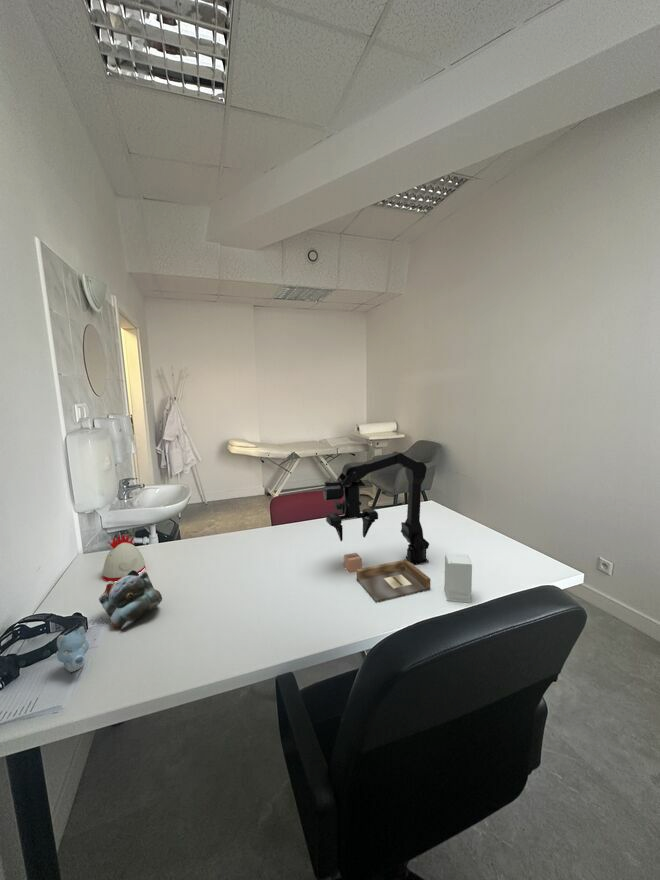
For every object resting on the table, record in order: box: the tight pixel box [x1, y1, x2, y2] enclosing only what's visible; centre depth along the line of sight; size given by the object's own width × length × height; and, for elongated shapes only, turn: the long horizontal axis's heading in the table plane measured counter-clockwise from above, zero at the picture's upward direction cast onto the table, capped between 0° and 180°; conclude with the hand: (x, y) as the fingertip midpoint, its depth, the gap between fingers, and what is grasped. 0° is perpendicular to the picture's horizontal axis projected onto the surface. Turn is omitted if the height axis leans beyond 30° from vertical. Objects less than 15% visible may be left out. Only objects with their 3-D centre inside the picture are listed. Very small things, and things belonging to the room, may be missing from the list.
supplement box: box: [443, 552, 473, 604], centre depth 114 cm, size 7×7×13 cm
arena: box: [356, 559, 431, 604], centre depth 122 cm, size 20×15×4 cm
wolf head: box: [56, 625, 90, 673], centre depth 86 cm, size 6×9×10 cm
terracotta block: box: [343, 552, 363, 574], centre depth 134 cm, size 5×5×5 cm
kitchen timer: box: [102, 533, 146, 582], centre depth 135 cm, size 14×14×15 cm
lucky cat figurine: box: [98, 570, 163, 631], centre depth 108 cm, size 15×12×14 cm
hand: (352, 539), depth 133 cm, fingers open, 9 cm apart
